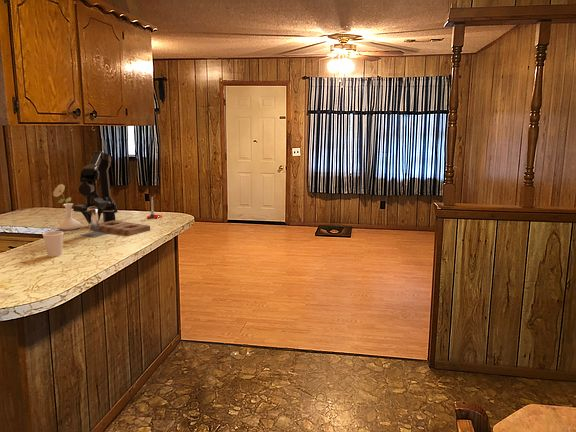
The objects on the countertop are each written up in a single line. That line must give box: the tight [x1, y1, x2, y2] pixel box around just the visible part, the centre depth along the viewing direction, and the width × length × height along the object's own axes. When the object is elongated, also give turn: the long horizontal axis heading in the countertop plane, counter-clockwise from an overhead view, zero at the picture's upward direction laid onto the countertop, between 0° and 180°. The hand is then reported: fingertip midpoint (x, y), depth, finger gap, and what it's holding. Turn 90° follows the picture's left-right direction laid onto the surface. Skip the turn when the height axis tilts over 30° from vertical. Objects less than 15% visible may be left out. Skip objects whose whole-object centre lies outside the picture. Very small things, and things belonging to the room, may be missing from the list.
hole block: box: [94, 219, 151, 237], centre depth 259 cm, size 28×14×3 cm, turn 61°
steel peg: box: [88, 208, 100, 231], centre depth 247 cm, size 5×5×10 cm
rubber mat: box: [79, 230, 111, 239], centre depth 249 cm, size 11×11×1 cm
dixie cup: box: [41, 230, 64, 258], centre depth 211 cm, size 8×8×10 cm
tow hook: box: [146, 197, 163, 219], centre depth 294 cm, size 8×13×9 cm
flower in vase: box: [52, 183, 82, 231], centre depth 259 cm, size 13×11×25 cm
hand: (93, 222), depth 247 cm, fingers closed on steel peg, 5 cm apart
